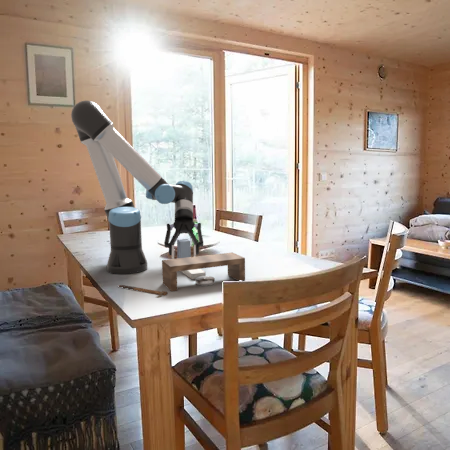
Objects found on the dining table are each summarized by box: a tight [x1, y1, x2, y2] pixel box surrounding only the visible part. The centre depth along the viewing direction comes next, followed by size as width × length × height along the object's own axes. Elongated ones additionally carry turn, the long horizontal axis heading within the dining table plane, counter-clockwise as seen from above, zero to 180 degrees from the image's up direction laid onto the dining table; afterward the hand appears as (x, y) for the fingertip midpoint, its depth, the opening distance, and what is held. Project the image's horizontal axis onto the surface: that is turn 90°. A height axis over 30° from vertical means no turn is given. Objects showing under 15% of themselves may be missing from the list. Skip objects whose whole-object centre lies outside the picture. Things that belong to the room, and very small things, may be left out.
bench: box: [161, 252, 246, 292], centre depth 142 cm, size 26×10×8 cm, turn 114°
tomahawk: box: [117, 284, 168, 298], centre depth 132 cm, size 20×7×1 cm, turn 59°
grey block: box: [176, 238, 207, 280], centre depth 154 cm, size 5×18×11 cm, turn 24°
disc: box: [195, 275, 216, 287], centre depth 141 cm, size 6×6×2 cm
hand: (183, 261), depth 158 cm, fingers open, 8 cm apart
